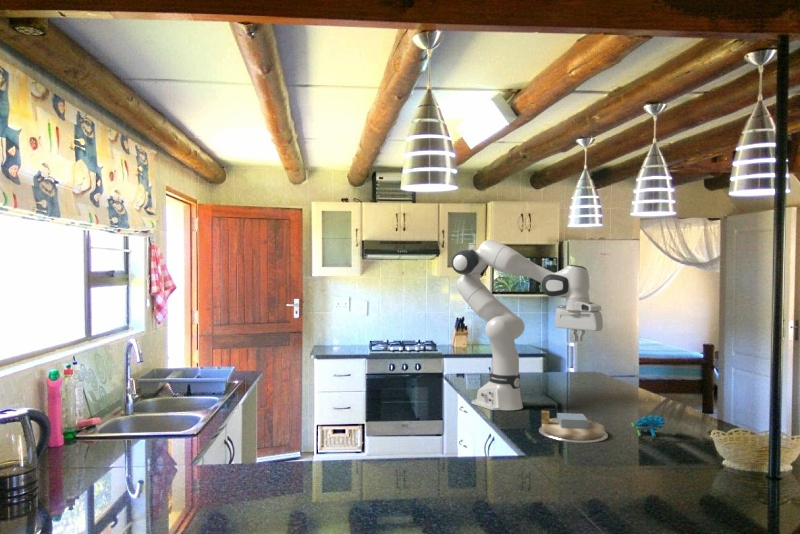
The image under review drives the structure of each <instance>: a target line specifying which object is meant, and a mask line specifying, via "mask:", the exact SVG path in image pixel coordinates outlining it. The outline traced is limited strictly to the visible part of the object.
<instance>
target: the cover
mask: <svg viewBox="0 0 800 534" xmlns="http://www.w3.org/2000/svg"><path fill="white" fill-rule="evenodd" d="M556 418H557V422H558V423H559V425H560V427H561V428H575V429H588V420H589V419H588V418H587V417H586V416H585V415H584V413H571V412H570V413H569V412H568V413H565V412H557V413H556Z"/></svg>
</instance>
